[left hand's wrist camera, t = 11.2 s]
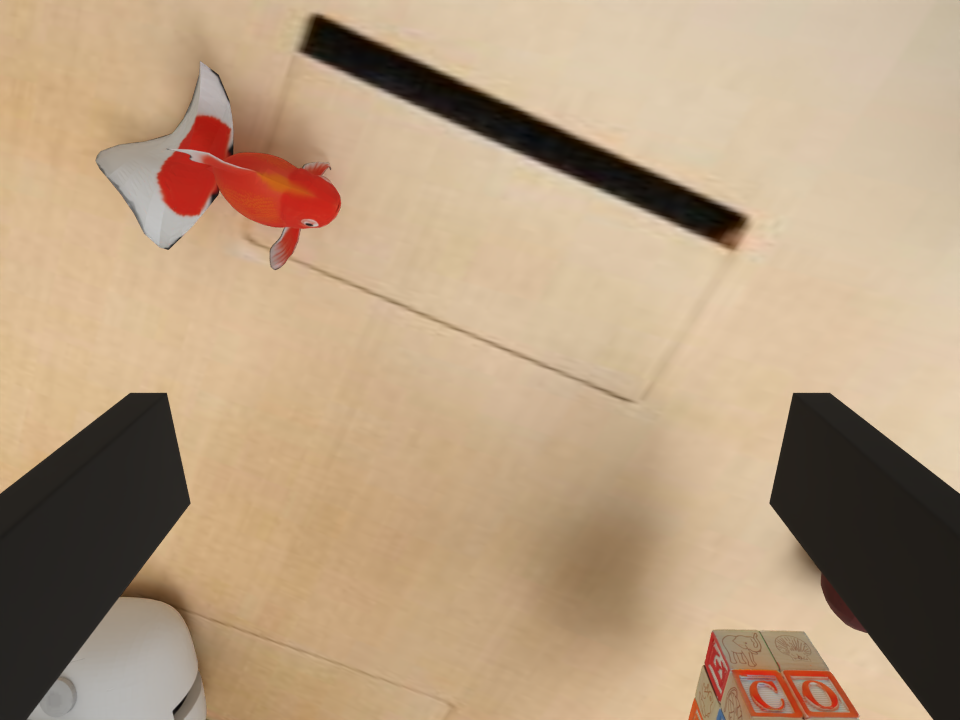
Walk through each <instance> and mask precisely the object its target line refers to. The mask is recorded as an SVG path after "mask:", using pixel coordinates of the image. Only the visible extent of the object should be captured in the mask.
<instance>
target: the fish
mask: <svg viewBox="0 0 960 720" xmlns="http://www.w3.org/2000/svg"><path fill="white" fill-rule="evenodd" d="M96 163H97V165H98V166H99V168H100V170H101V171H102V172H103V173H104V174H105V176H106V177H107V178H108V179H109V180H110V182H111V183H112V184H113V185H114V186H115V188H116V189H117V190H118V191H119V193H120V194H121V195H122V197H123V198H124V200H125V201H126V203H127V204H128V205H129V207H130V208H131V210H132V211H133V213H134V214H135V216H136V218H137V220H138V222H139V224H140V226H141V228H142V230H143V232H144V234H145V235H146V236H147V237H149V238H150V239H151V240H152V241H153V242H154V243H155V244H156V245H158V246H159V247H160V248H164V249H167V250H169V249H170V248H171V247H172V246H173V245H174V244H175V243H176V242H177V241H178V240H179V239H180V238H181V237H182V236H183V235H184V234H185V233H186V232H187V231H188V230H189V229H190V228H191V227H192V226H193V225H194V224H195V223H196V221H197V220H198V219H199V218H200V217H201V215H202V214H203V213H204V212H205V211H206V209H207V208H208V207H209V206H210V204H211V203H212V202H213V201H214V199H215V198H216V197H217V196H218V194H219V190H220V191H221V193H222V194H223V196H224V197H225V199H226V200H227V201H228V202H229V203H230V204H231V205H232V207H233V208H235V209H236V210H237V211H238V212H239V213H241V214H242V215H244V216H245V217H247V218H249V219H251V220H253V221H255V222H258V223H260V224H263V225H267V226H271V227H285V228H284V229H283V232H282V234H281V237H280V238H279V239H278V241H277V242H276V243H275V244H274V245H273V246H272V247H271V249H270V265H271V267H272V268H273V269H274V270H277V269H279V268H280V267H282V266H283V265H284V264H285V263H286V261H287V259H288V258H289V257H290V256H291V255H292V254H293V252H294V250H295V248H296V245H297V243H298V240H299V235H300V230H301V229H305V228H319V227H323V226H326V225H327V224H329V223H330V222H331V221H332V220H334V219H335V218H336V216H337V214H338V213H339V211H340V206H341V199H340V195H339V193H338V191H337V190H336V188H335V187H334V186H333V185H332V183H331V182H330V180H328V179H327V178H326V177H324V176H322V174H323V173H324V172H325V170H326V169H327V168H328V167H329V168H330V164H329V163H325V162H313V163H308V164H305V165H304V166H303V168H300V169H298V168H296V167H295V166H293V165H292V164H290V163H289V162H287V161H285V160H284V159H281V158H279V157H276V156H273V155H269V154H263V153H238V154H234V155H233V121H232V113H231V107H230V102H229V99H228V96H227V94H226V91H225V89H224V87H223V84H222V82H221V79H220V77H219V75H218V74H217V73H215V72H214V71H213V70H211V69H210V68H209V67H208V66H206V65H205V64H204V63H202V62H201V61H200V73H199V77H198V81H197V84H196V88H195V91H194V95H193V98H192V101H191V103H190V105H189V108H188V110H187V112H186V114H185V117H184V119H183V120H182V121H181V123H180V124H179V125H178V127H177V128H176V129H175V131H174V132H173V133H172V134H169V135H166V136H163V137H160V138H156V139H153V140H149V141H145V142H137V143H128V144H122V145H117V146H114V147H111V148H108V149H105V150H103V151H101V152H100V153H99V154H98V155H97V158H96ZM330 170H331V168H330Z"/></svg>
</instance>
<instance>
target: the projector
mask: <svg viewBox="0 0 960 720" xmlns="http://www.w3.org/2000/svg"><path fill="white" fill-rule="evenodd" d="M27 720H206V699H205V693H204V687H203V683H202V678H201V675H200V672H199V670H198V660H197V656H196V652H195V648H194V644H193V641H192V638H191V635H190V632H189V629H188V627H187V625H186V623H185V621H184V619H183V618H182V616H181V615H180V613H179V612H178V611H177V610H176V609H174V608H173V607H172V606H170V605H169V604H166V603H164V602H161V601H157V600H153V599H146V598H135V597H119V598H118V600H117V601H116V602H115V604H114V605H113V606H112V608H111V609H110V610H109V612H108V613H107V614H106V616H105V617H104V618H103V620H102V621H101V622H100V623H99V625H98V626H97V627H96V629H95V630H94V631H93V633H92V634H91V635H90V637H89V638H88V639H87V641H86V642H85V643H84V645H83V646H82V647H81V649H80V650H79V651H78V653H77V654H76V655H75V656H74V658H73V659H72V660H71V662H70V663H69V664H68V666H67V667H66V668H65V670H64V671H63V672H62V674H61V675H60V676H59V678H58V679H57V680H56V682H55V683H54V684H53V685H52V687H51V688H50V689H49V691H48V692H47V693H46V695H45V696H44V697H43V699H42V700H41V701H40V703H39V704H38V705H37V707H36V708H35V709H34V711H33V712H32V713H31V715H30V716H29V717H28V718H27Z"/></svg>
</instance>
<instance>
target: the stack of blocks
mask: <svg viewBox="0 0 960 720" xmlns="http://www.w3.org/2000/svg"><path fill="white" fill-rule="evenodd" d="M689 720H859V714H858V713H857V711H856V709H855V708H854V706H853V705H852V703H851V702H850V700H849V698H848V697H847V695H846V694H845V692H844V691H843V689H842V688H841V686H840V685H839V683H838V682H837V680H836V679H835V677H834V675H833V674H832V673H831V672H829V669H828V667H827V665H826V664H825V662H824V661H823V659H822V658H821V656H820V655H819V653H818V652H817V650H816V649H815V647H814V646H813V644H812V643H811V641H810V640H809V638H808V636H807V635H806V634H805V632H801V631H757V630H713V631H712V633H711V638H710V642H709V646H708V651H707V655H706V660H705V665H703V666H702V669H701V673H700V677H699V681H698V685H697V689H696V694H695V698H694V701H693V704H692V708H691V712H690V716H689Z"/></svg>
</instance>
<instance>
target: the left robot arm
mask: <svg viewBox="0 0 960 720" xmlns="http://www.w3.org/2000/svg"><path fill="white" fill-rule="evenodd" d="M189 505H190V498H189V494H188V489H187V484H186V480H185V475H184V471H183V466H182V461H181V457H180V452H179V447H178V443H177V438H176V433H175V429H174V424H173V420H172V415H171V410H170V406H169V401H168V396H167V393H130V394H128V395H127V396H126V397H124V398H123V399H122V400H120V401H119V402H118V403H117V404H115V405H114V406H113V407H111V408H110V409H109V410H108V411H106V412H105V413H104V414H102V415H101V416H100V417H99V418H97V419H96V420H95V421H93V422H92V423H91V424H90V425H88V426H87V427H86V428H84V429H83V430H82V431H81V432H79V433H78V434H77V435H75V436H74V437H73V438H72V439H70V440H69V441H68V442H66V443H65V444H64V445H63V446H61V447H60V448H59V449H57V450H56V451H55V452H53V453H52V454H51V455H50V456H48V457H47V458H46V459H44V460H43V461H42V462H41V463H39V464H38V465H37V466H35V467H34V468H33V469H32V470H30V471H29V472H28V473H26V474H25V475H24V476H23V477H21V478H20V479H19V480H17V481H16V482H15V483H14V484H12V485H11V486H10V487H8V488H7V489H6V490H5V491H3V492H2V493H1V494H0V720H27V718H28V717H29V716H30V715H31V713H32V712H33V711H34V709H35V708H36V707H37V705H38V704H39V703H40V701H41V700H42V699H43V697H44V696H45V695H46V693H47V692H48V691H49V689H50V688H51V687H52V685H53V684H54V683H55V682H56V680H57V679H58V678H59V676H60V675H61V674H62V672H63V671H64V670H65V668H66V667H67V666H68V664H69V663H70V662H71V660H72V659H73V658H74V656H75V655H76V654H77V653H78V651H79V650H80V649H81V647H82V646H83V645H84V643H85V642H86V641H87V639H88V638H89V637H90V635H91V634H92V633H93V631H94V630H95V629H96V627H97V626H98V625H99V623H100V622H101V621H102V620H103V618H104V617H105V616H106V614H107V613H108V612H109V610H110V609H111V608H112V606H113V605H114V604H115V602H116V601H117V600H118V598H119V597H120V596H121V594H122V593H123V592H124V590H125V589H126V588H127V587H128V585H129V584H130V583H131V581H132V580H133V579H134V577H135V576H136V575H137V573H138V572H139V571H140V569H141V568H142V567H143V565H144V564H145V563H146V561H147V560H148V559H149V558H150V556H151V555H152V554H153V552H154V551H155V550H156V548H157V547H158V546H159V544H160V543H161V542H162V540H163V539H164V538H165V536H166V535H167V534H168V532H169V531H170V530H171V528H172V527H173V526H174V525H175V523H176V522H177V521H178V519H179V518H180V517H181V515H182V514H183V513H184V511H185V510H186V509H187V507H188V506H189ZM770 505H771V506H772V507H773V509H774V510H775V511H776V513H777V514H778V515H779V517H780V518H781V519H782V521H783V522H784V523H785V525H786V526H787V527H788V528H789V530H790V531H791V532H792V534H793V535H794V536H795V538H796V539H797V540H798V542H799V543H800V544H801V546H802V547H803V548H804V550H805V551H806V552H807V554H808V555H809V556H810V558H811V559H812V560H813V561H814V563H815V564H816V565H817V567H818V568H819V569H820V571H821V572H822V573H823V575H824V576H825V577H826V579H827V580H828V581H829V583H830V584H831V585H832V587H833V588H834V589H835V590H836V592H837V593H838V594H839V596H840V597H841V598H842V600H843V601H844V602H845V604H846V605H847V606H848V608H849V609H850V610H851V612H852V613H853V614H854V616H855V617H856V618H857V620H858V621H859V622H860V623H861V625H862V626H863V627H864V629H865V630H866V631H867V633H868V634H869V635H870V637H871V638H872V639H873V641H874V642H875V643H876V645H877V646H878V647H879V649H880V650H881V651H882V653H883V654H884V655H885V656H886V658H887V659H888V660H889V662H890V663H891V664H892V666H893V667H894V668H895V670H896V671H897V672H898V674H899V675H900V676H901V678H902V679H903V680H904V682H905V683H906V684H907V685H908V687H909V688H910V689H911V691H912V692H913V693H914V695H915V696H916V697H917V699H918V700H919V701H920V703H921V704H922V705H923V707H924V708H925V709H926V711H927V712H928V713H929V715H930V716H931V717H932V718H933V720H960V494H959V493H958V492H957V491H955V490H954V489H953V488H952V487H950V486H949V485H948V484H946V483H945V482H944V481H943V480H941V479H940V478H939V477H937V476H936V475H935V474H934V473H932V472H931V471H930V470H928V469H927V468H926V467H925V466H923V465H922V464H921V463H919V462H918V461H917V460H916V459H914V458H913V457H912V456H910V455H909V454H908V453H907V452H905V451H904V450H903V449H901V448H900V447H899V446H897V445H896V444H895V443H894V442H892V441H891V440H890V439H888V438H887V437H886V436H885V435H883V434H882V433H881V432H879V431H878V430H877V429H876V428H874V427H873V426H872V425H870V424H869V423H868V422H867V421H865V420H864V419H863V418H861V417H860V416H859V415H858V414H856V413H855V412H854V411H852V410H851V409H850V408H849V407H847V406H846V405H845V404H843V403H842V402H841V401H840V400H838V399H837V398H836V397H834V396H833V395H832V394H830V393H793V396H792V401H791V406H790V410H789V415H788V420H787V424H786V429H785V433H784V438H783V443H782V447H781V452H780V457H779V461H778V466H777V470H776V475H775V480H774V484H773V489H772V494H771V498H770Z"/></svg>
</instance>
